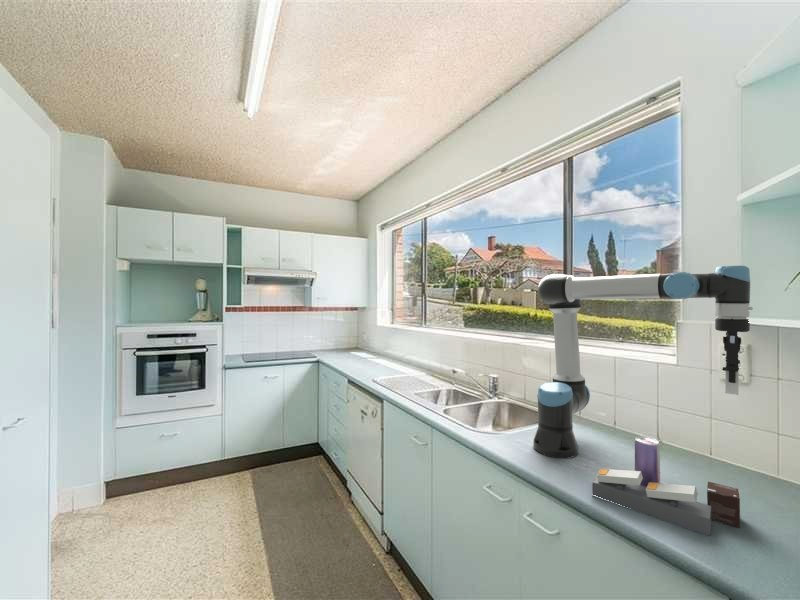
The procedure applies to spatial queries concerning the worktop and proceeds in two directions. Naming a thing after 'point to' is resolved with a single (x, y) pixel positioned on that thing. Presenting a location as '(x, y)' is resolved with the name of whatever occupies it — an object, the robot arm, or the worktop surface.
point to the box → (724, 504)
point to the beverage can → (647, 459)
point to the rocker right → (672, 492)
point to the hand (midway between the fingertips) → (731, 389)
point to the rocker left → (620, 476)
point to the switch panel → (656, 505)
